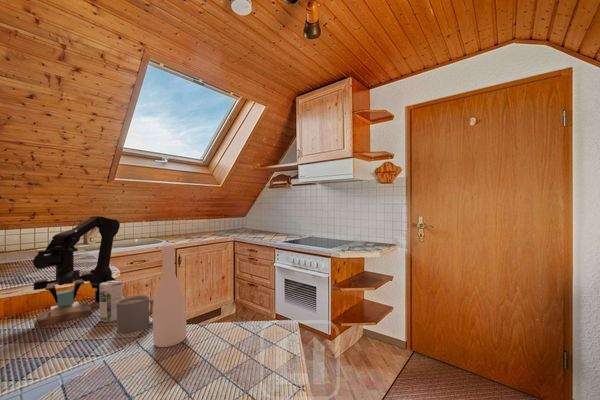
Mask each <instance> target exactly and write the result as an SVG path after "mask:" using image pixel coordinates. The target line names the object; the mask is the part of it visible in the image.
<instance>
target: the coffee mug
mask: <svg viewBox="0 0 600 400" xmlns="http://www.w3.org/2000/svg"><path fill="white" fill-rule="evenodd" d="M154 299H155V298H150V297H149V295H145V294H139V295H132V296H128V297H124V298H123V299H121V300H119V301H117V320H116V333H118V334H122V335H125V334H133V333H137V332H140V331H143V330H145V329H147V328H148V327H149V326H150V316H151V315H153V308H152V307H153V302H154ZM150 304H151V307H150Z"/></svg>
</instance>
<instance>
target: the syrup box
mask: <svg viewBox="0 0 600 400" xmlns="http://www.w3.org/2000/svg"><path fill="white" fill-rule="evenodd" d="M123 291H124V290H123V281H121V280H119V281H118V280H116V281H107V282H104V283H101V284H100V302H99V322H103V323H104V322H105V323H112V322H114V321H117V301H119V300H121V299H124V298H123V297H124V296H123V294H124V293H123Z"/></svg>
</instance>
